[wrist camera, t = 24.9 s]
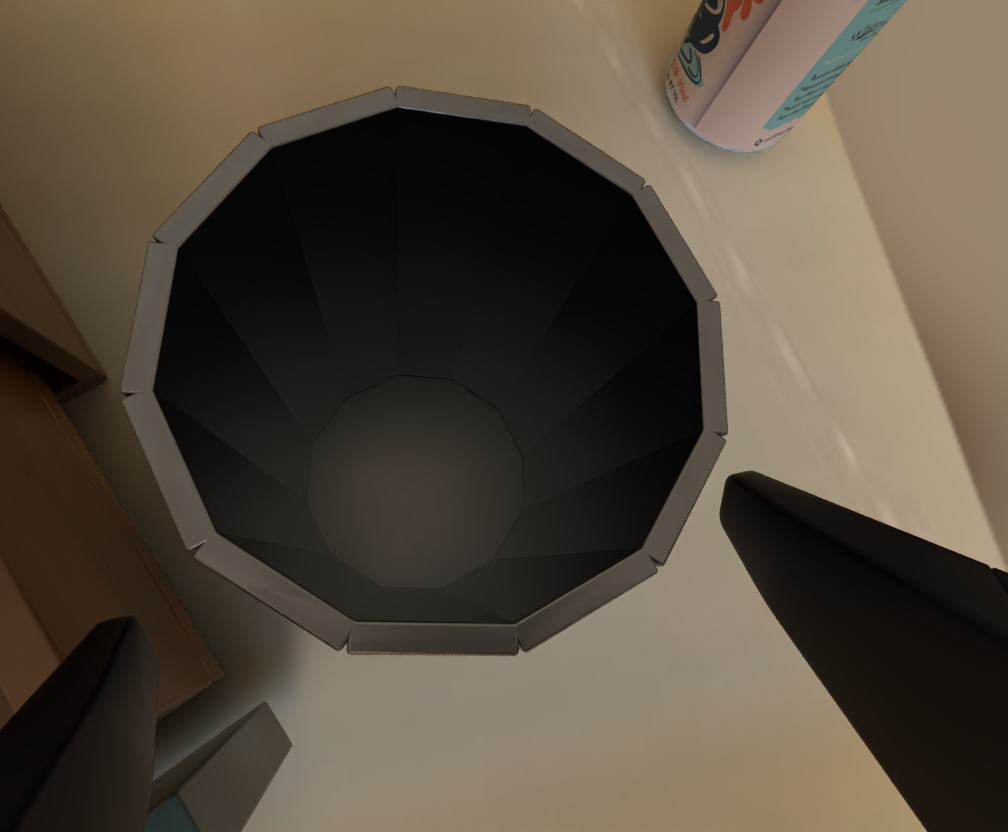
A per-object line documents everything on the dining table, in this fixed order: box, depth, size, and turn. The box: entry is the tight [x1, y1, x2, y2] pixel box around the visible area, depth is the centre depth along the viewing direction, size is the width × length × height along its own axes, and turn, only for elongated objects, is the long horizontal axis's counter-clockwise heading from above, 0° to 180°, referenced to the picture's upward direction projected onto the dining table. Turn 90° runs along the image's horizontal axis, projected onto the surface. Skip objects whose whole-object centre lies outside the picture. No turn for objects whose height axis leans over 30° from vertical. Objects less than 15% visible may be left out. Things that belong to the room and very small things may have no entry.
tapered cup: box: [120, 86, 728, 656], centre depth 11 cm, size 6×6×11 cm
